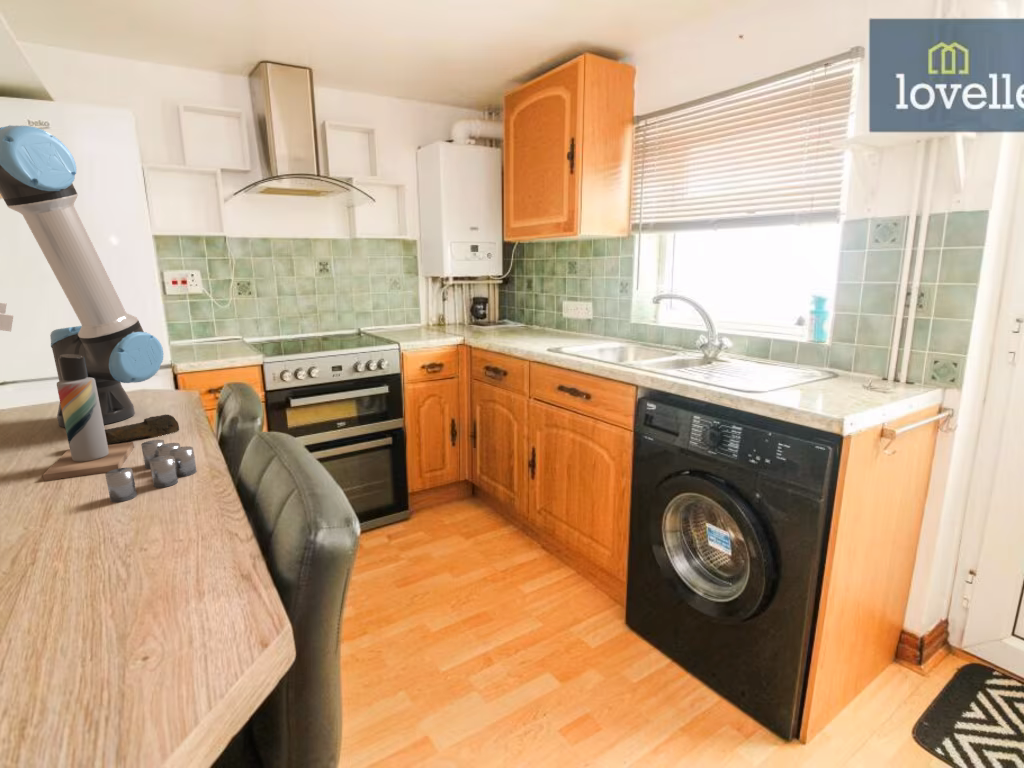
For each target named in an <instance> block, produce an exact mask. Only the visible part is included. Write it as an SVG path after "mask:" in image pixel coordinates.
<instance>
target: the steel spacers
mask: <svg viewBox="0 0 1024 768" xmlns="http://www.w3.org/2000/svg"><path fill="white" fill-rule="evenodd" d="M140 446H141V451H142V456H143V463H144V468H145V469H148V470H150V472H151V478H152V484H153V487H154V488H157V489H162V488H168V487H171V486H174V485H176V484H178V483H179V478H183V477H189V476H192V475H194V474H196V473H197V464H196V458H195V453H194V452H195V451H194V447H193V446H187V445H186V446H181V444H180V443H179V442H169V443H168V442H167V443H165V440H164V439H152V440H146V441H144V442H142V443H141V444H140ZM104 474H105V475H104V476H105V479H106V480H105V481H106V484H107V485H106V486H107V490H108V495H109V501H110V502H112V503H123V502H126V501H130V500H132V499H134V498H136V497H137V496H138V493H137V487H136V482H135V477H134V471H133V468H132V467H121V468H119V469H114V470H111V471H109V472H105V473H104Z"/></svg>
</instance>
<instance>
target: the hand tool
mask: <svg viewBox="0 0 1024 768" xmlns="http://www.w3.org/2000/svg"><path fill="white" fill-rule="evenodd" d="M179 426H180V425H179V422H178V421H177V420H176V419H175V416H173V415H170V414H162V415H155V416H150V417H146V418H144V420H143V421H141V422H137V423H131V424H128V425H121V426H117V427H113V428H104V429H105V434H106V439H107V445H112V444H118V443H119V442H121V443H122V442H126V441H131V440H135V439H140V438H148V437H149V438H148V439H155V438H158V436H159V437H162V435H163V436H166V434H167V435H170V433H171V434H173V432H174V433H175V432H179V431H180V427H179Z"/></svg>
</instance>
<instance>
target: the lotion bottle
mask: <svg viewBox="0 0 1024 768" xmlns="http://www.w3.org/2000/svg"><path fill="white" fill-rule="evenodd" d="M58 361H59V366H60V371H61V376H62V381H59V380H58V381H57V382H56V388H57V394H58V399H59V403H60V404H61V409H62V414H63V418H64V423H65V427H64V428H65V432H66V437H67V443H68V447H69V450H70V452H71V456H72V459H73V460H74V461H77V462H84V461H91V460H96V459H99V458H102V457H105V456H107V455H108V453H109V451H108V445H109V444H107V439H106V434H105V429H106V428H105V426H104V425H105V424H104V423H103V418H102V413H101V408H100V403H99V397H98V392H97V387H96V382H95V379H94V378H90V377H88V373H87V368H86V363H85V358H84V356H83V355H74V354H64V355H61V356H60V358H59V359H58Z"/></svg>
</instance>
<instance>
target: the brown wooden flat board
mask: <svg viewBox="0 0 1024 768" xmlns="http://www.w3.org/2000/svg"><path fill="white" fill-rule="evenodd" d="M107 445H108V451H109V453H108V455H107V456H105V457H102V458H99V459H96V460H91V461H84V462H77V461H74V460H73V459H72V456H71V452H70V449H67V450H66V451H65V452H64V453H63V455H61V456H60V457H59V458H58V459H57V460H56V461H55V462H54V463H53V464H52V465H51V466H50V467H49V468H47V470H45V472H44V473H43V474H42V476H43V480H44V482H47V481H46V480H49V481H53V479H56V480H61V478H63V479H69V477H70V478H75V477H76V476H77V477H83V476H91V475H96V474H106V473H107V472H109V471H111V470H114V469H119V468H122V466H123V465H124V464H125V462H126V460H127V459H128V457H129V456H130V455H131V453H132V451H133V450H134V448H135V445H134V442H133V441H131V442H129V441H128V442H121V443H112V444H107ZM77 477H76V478H77Z"/></svg>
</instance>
